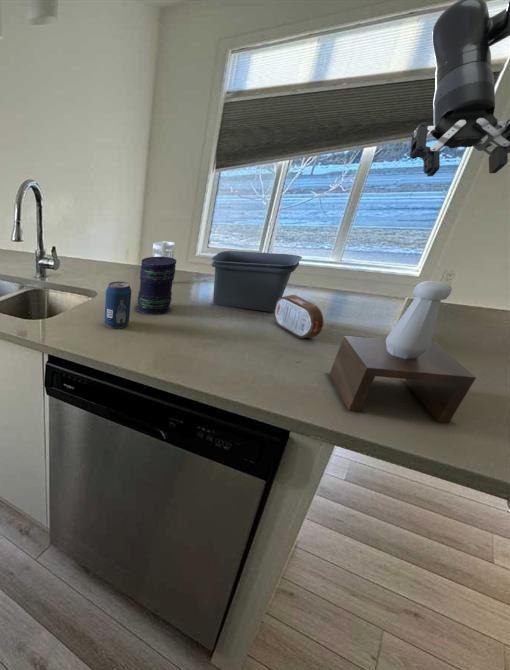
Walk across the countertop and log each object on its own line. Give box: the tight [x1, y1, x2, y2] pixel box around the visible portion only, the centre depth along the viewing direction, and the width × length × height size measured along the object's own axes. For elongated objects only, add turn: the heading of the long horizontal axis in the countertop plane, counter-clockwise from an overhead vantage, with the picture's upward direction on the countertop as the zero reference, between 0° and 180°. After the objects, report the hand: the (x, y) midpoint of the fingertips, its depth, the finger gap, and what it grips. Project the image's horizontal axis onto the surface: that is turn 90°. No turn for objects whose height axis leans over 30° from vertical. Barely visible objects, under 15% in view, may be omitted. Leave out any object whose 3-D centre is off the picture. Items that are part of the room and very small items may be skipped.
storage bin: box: [211, 250, 302, 313], centre depth 120 cm, size 21×16×14 cm
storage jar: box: [136, 256, 177, 315], centre depth 122 cm, size 10×10×15 cm
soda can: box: [103, 281, 132, 329], centre depth 114 cm, size 7×7×12 cm
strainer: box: [151, 240, 176, 258], centre depth 144 cm, size 7×7×15 cm
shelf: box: [329, 335, 477, 423], centre depth 75 cm, size 14×14×9 cm
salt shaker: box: [385, 280, 453, 359], centre depth 69 cm, size 6×6×13 cm
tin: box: [273, 294, 324, 339], centre depth 102 cm, size 15×3×8 cm, turn 1°
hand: (464, 171), depth 73 cm, fingers open, 8 cm apart
